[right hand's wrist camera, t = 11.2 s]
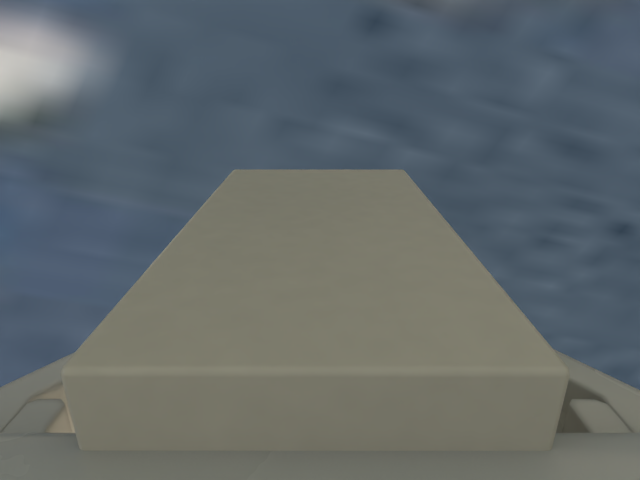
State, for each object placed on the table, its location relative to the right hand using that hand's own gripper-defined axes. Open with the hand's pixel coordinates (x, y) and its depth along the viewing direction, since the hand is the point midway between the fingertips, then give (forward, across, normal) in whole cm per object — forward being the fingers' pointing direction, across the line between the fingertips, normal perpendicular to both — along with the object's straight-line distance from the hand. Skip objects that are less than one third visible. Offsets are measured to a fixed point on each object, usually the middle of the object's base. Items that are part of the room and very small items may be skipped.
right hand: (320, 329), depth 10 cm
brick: (+4, 0, 0) cm, 4 cm away
